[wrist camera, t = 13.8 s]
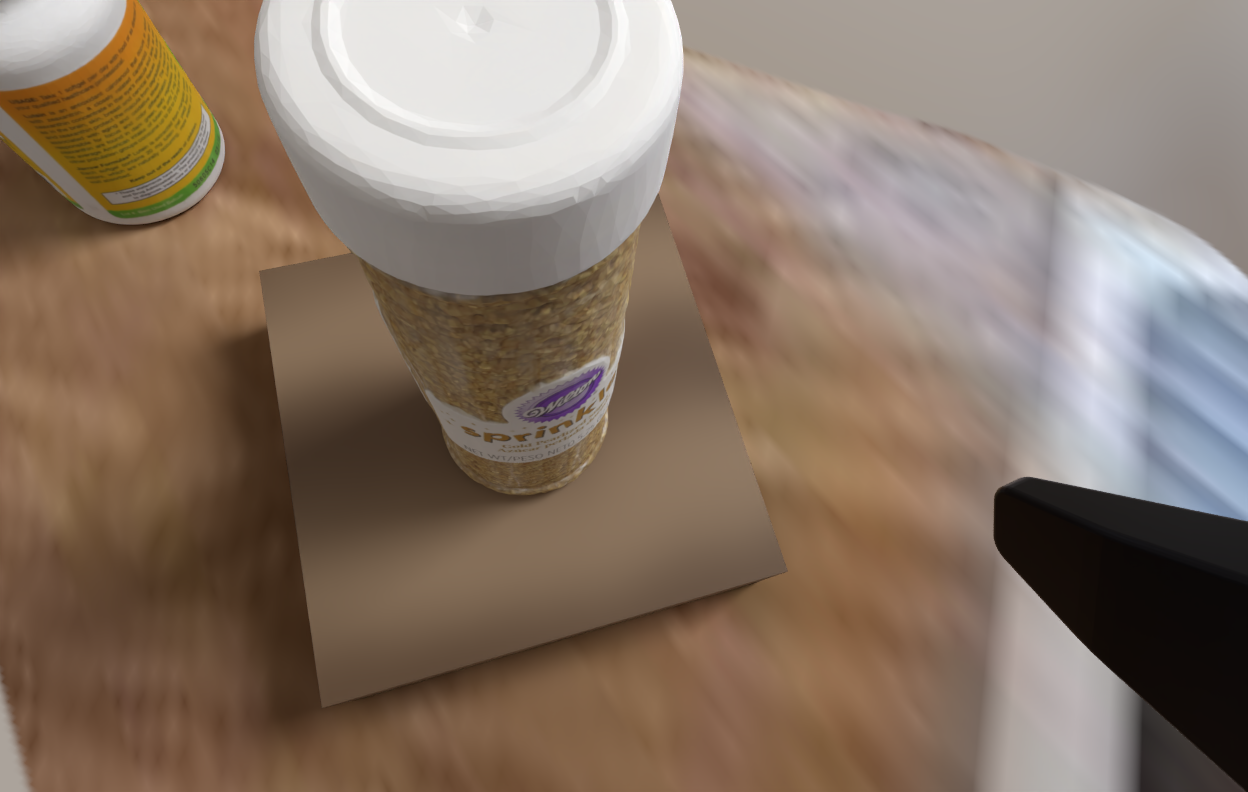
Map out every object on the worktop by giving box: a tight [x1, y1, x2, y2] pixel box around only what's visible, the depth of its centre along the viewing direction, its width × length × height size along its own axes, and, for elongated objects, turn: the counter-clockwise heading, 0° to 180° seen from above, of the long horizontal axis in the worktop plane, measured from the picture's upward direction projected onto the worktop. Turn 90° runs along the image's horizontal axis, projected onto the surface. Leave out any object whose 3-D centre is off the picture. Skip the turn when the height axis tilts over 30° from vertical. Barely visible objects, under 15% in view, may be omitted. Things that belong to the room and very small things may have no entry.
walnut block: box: [259, 194, 787, 708], centre depth 22 cm, size 12×12×3 cm
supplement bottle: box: [0, 0, 225, 225], centre depth 21 cm, size 5×5×10 cm
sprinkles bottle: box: [254, 0, 683, 495], centre depth 14 cm, size 5×5×14 cm
